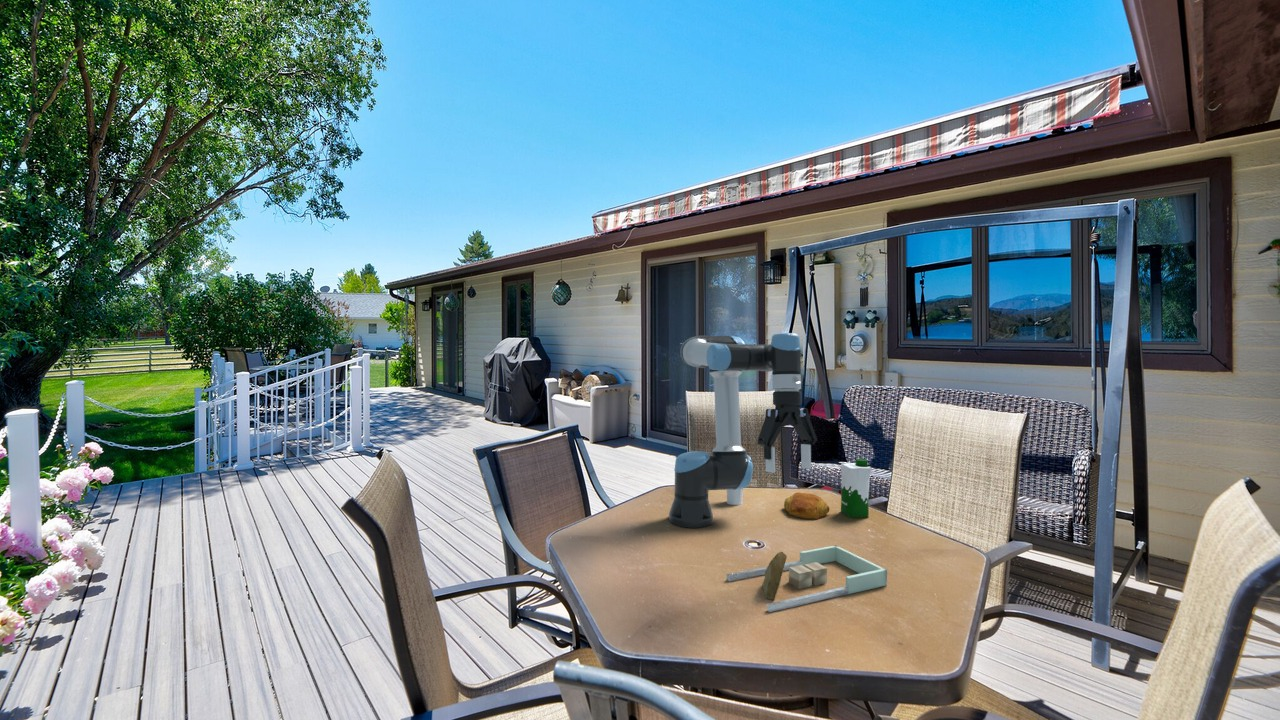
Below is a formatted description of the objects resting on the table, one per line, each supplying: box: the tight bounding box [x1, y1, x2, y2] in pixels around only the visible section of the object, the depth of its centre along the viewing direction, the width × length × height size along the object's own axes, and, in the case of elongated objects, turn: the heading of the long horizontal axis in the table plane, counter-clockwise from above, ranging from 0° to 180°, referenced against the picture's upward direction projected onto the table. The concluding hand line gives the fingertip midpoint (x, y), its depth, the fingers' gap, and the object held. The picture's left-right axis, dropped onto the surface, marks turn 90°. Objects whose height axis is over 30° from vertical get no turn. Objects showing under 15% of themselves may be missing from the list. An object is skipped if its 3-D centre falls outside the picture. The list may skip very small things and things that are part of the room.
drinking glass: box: [726, 488, 744, 506], centre depth 209 cm, size 7×7×10 cm
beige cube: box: [804, 562, 828, 586], centre depth 142 cm, size 4×4×4 cm
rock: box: [761, 551, 788, 601], centre depth 136 cm, size 10×8×10 cm
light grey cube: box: [788, 565, 813, 590], centre depth 140 cm, size 4×4×4 cm
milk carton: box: [840, 458, 872, 519], centre depth 197 cm, size 9×9×20 cm
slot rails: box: [726, 560, 849, 613], centre depth 138 cm, size 24×18×2 cm
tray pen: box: [799, 545, 888, 595], centre depth 146 cm, size 13×18×4 cm
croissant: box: [783, 492, 830, 520], centre depth 198 cm, size 15×16×8 cm
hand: (788, 470), depth 145 cm, fingers open, 13 cm apart
